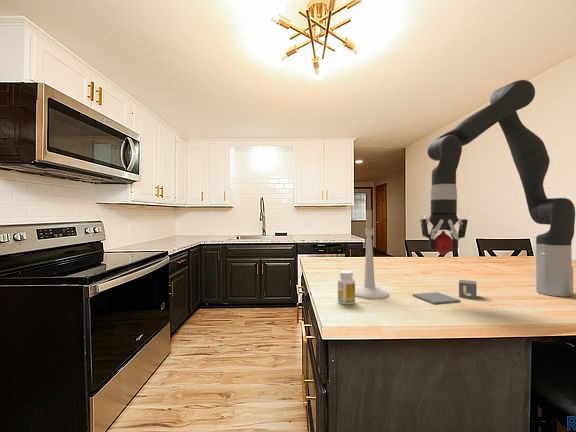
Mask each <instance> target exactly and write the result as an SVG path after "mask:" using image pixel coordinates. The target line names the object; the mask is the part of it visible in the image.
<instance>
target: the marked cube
mask: <svg viewBox="0 0 576 432" xmlns="http://www.w3.org/2000/svg"><path fill="white" fill-rule="evenodd" d="M477 292H478V291H477V281H475V280H468V279H467V280H466V279H459V280H458V297H459V298H463V297H465V299H471V298H472V299H473V300H477Z"/></svg>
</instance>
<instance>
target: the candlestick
mask: <svg viewBox="0 0 576 432" xmlns="http://www.w3.org/2000/svg"><path fill="white" fill-rule="evenodd" d="M365 213H366V214H365V222H366V223H365V224H366V225H365V228H363V230H364V231H365V233H364V234H365V235H366V239H365V257H364V258H365V260H364V261H365V263H364V282H363V285H360V286H355V298H358V299H363V300H364V299H366V300H381V299H386V298H388V297H389V295H390V294H389V292H388V291H387V290H386V289H384V288H382V287H379V286H377V285H376V283H375V269H374V267H375V265H374V252H373V251H374V249H373V238H372V237H373V235H374V231H375V228H373V210H372V209H371V210H370V209H368V210H365Z"/></svg>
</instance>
